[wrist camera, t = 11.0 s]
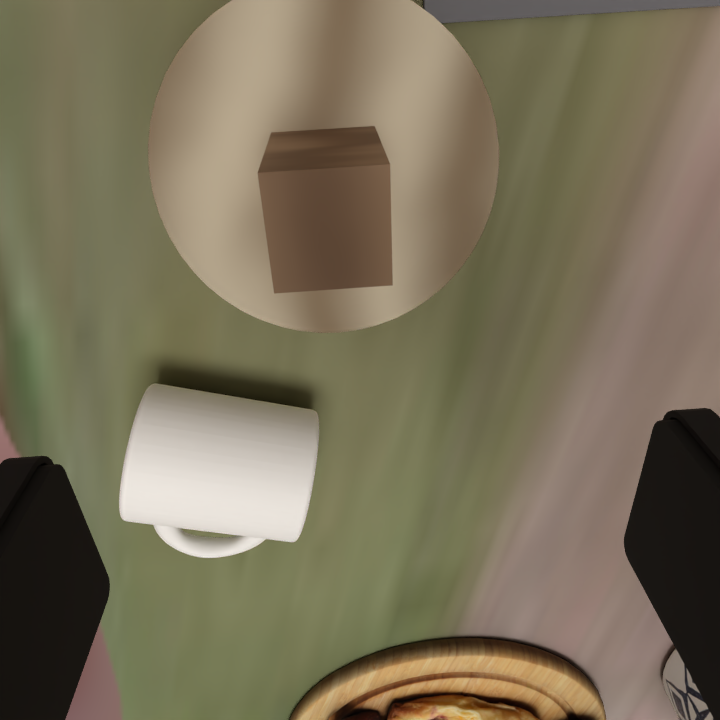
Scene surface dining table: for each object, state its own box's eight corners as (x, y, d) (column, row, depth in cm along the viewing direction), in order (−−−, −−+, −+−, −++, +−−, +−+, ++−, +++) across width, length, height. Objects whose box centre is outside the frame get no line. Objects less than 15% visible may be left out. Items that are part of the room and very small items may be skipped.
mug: (158, 357, 36) (121, 442, 29) (320, 385, 38) (320, 471, 31) (145, 498, 42) (112, 596, 35) (285, 517, 44) (279, 613, 37)
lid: (506, -36, 21) (577, -45, 15) (482, 312, 29) (525, 395, 23) (113, -13, 21) (32, -15, 15) (191, 332, 28) (158, 422, 23)
